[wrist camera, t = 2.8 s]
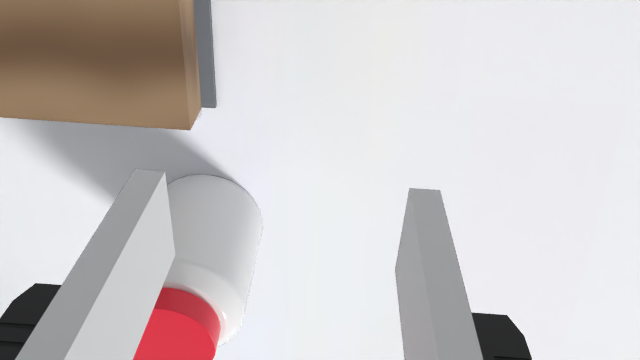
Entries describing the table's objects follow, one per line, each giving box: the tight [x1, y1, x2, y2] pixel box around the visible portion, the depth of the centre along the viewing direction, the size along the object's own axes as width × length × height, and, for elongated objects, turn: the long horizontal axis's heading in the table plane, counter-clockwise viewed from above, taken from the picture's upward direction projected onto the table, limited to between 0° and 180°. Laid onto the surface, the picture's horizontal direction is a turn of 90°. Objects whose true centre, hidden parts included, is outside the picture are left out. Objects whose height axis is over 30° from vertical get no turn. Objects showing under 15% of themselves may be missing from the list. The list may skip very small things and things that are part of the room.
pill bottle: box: [133, 175, 263, 360], centre depth 33 cm, size 8×8×11 cm
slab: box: [0, 0, 201, 130], centre depth 26 cm, size 9×14×2 cm, turn 87°
